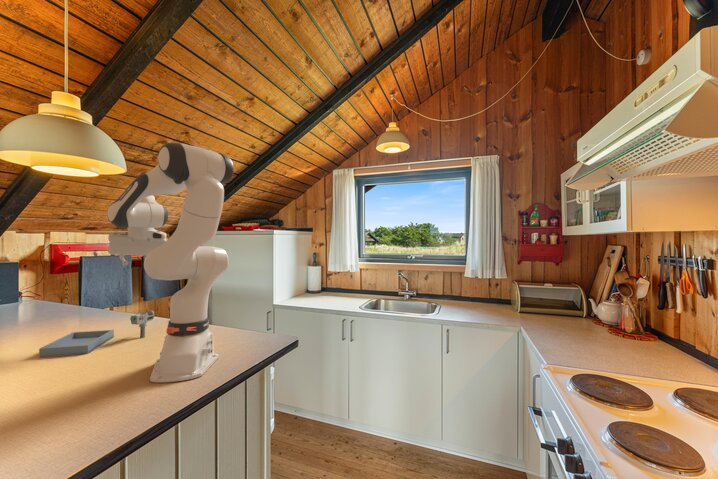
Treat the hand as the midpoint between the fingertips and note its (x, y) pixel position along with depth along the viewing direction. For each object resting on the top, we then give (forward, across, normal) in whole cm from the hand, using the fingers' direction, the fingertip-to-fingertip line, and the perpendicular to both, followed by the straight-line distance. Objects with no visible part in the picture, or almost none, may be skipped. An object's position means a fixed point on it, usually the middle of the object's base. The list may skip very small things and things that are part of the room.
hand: (139, 265), depth 122 cm
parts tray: (+29, -16, -8) cm, 34 cm away
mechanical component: (+29, +3, -6) cm, 30 cm away
